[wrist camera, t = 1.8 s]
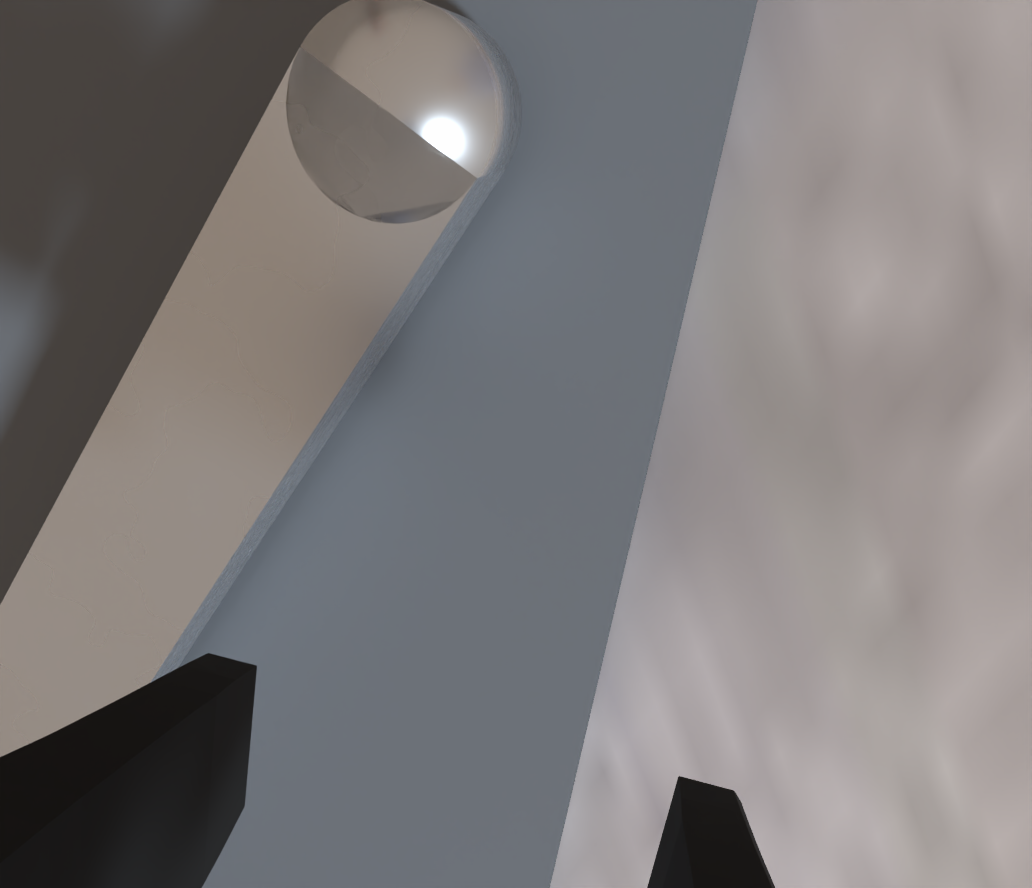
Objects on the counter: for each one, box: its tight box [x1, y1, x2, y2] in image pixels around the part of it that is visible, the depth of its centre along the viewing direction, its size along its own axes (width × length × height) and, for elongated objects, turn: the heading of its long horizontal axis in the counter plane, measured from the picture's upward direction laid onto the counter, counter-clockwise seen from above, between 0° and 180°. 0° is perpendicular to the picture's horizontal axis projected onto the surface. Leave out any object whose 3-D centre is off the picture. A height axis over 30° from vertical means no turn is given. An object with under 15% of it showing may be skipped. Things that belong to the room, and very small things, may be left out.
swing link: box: [0, 0, 522, 757], centre depth 18 cm, size 21×4×2 cm, turn 145°
